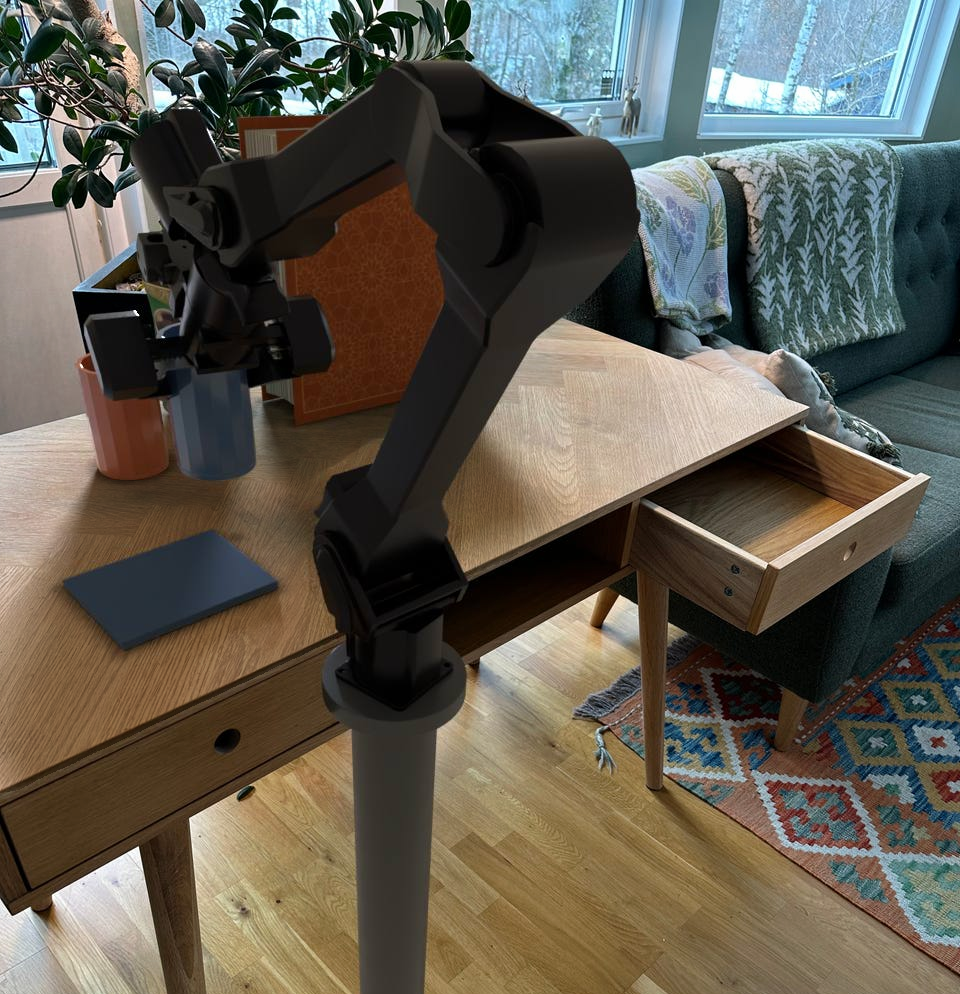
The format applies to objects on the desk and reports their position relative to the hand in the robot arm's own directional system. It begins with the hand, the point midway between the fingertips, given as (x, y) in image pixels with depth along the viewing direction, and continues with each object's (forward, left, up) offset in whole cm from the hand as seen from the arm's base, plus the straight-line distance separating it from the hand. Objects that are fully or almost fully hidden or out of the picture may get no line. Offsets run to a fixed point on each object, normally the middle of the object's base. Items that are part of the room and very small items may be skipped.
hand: (204, 389), depth 78 cm
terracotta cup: (+14, -1, -12) cm, 18 cm away
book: (+10, -31, -12) cm, 35 cm away
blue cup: (-1, +1, -7) cm, 7 cm away
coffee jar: (+19, -15, -12) cm, 27 cm away
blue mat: (-7, +11, -12) cm, 18 cm away
